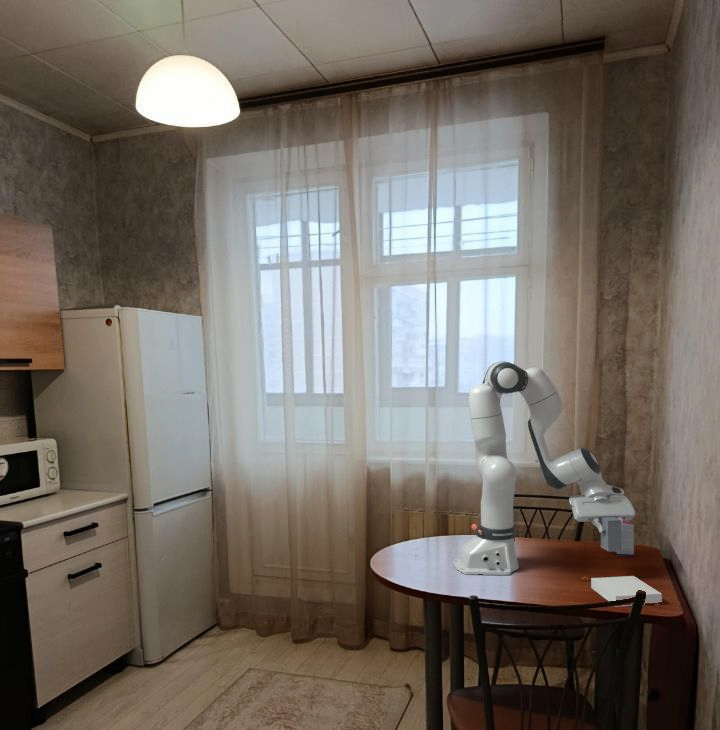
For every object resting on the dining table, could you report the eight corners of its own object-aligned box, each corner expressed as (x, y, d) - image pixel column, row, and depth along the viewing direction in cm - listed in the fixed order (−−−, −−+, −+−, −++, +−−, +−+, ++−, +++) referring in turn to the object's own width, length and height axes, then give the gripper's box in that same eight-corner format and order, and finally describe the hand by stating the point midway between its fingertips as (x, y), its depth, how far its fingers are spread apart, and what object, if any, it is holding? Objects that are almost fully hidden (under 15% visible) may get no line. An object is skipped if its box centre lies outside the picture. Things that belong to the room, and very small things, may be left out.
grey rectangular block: (608, 551, 179) (607, 520, 179) (600, 547, 184) (600, 516, 184) (621, 551, 180) (621, 520, 180) (613, 546, 184) (613, 516, 184)
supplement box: (634, 556, 202) (634, 524, 202) (617, 555, 203) (616, 524, 203) (629, 551, 207) (629, 520, 207) (613, 550, 208) (612, 519, 208)
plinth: (616, 606, 160) (615, 596, 160) (591, 587, 174) (591, 578, 174) (661, 604, 161) (661, 593, 161) (633, 585, 175) (633, 575, 175)
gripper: (570, 490, 188) (584, 527, 178) (627, 489, 190) (645, 525, 180) (564, 500, 192) (578, 537, 182) (620, 499, 194) (637, 535, 184)
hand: (611, 531), depth 181 cm, fingers closed on grey rectangular block, 4 cm apart
